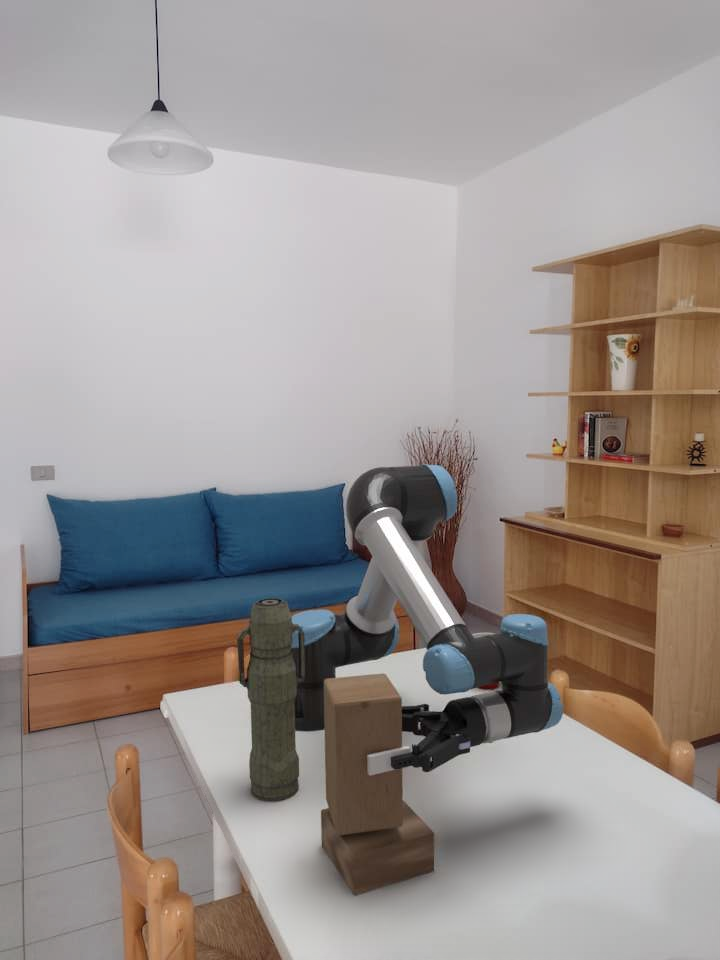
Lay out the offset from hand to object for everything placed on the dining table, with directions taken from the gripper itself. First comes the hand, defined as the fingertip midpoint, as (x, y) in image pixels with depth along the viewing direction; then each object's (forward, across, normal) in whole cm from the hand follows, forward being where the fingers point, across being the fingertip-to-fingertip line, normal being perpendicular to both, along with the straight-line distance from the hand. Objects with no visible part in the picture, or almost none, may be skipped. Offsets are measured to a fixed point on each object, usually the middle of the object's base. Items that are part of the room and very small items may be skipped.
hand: (351, 747), depth 108 cm
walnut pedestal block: (-4, 0, -18) cm, 19 cm away
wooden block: (-2, 0, -11) cm, 11 cm away
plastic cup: (-59, +52, -19) cm, 80 cm away
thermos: (+4, +26, -19) cm, 33 cm away
